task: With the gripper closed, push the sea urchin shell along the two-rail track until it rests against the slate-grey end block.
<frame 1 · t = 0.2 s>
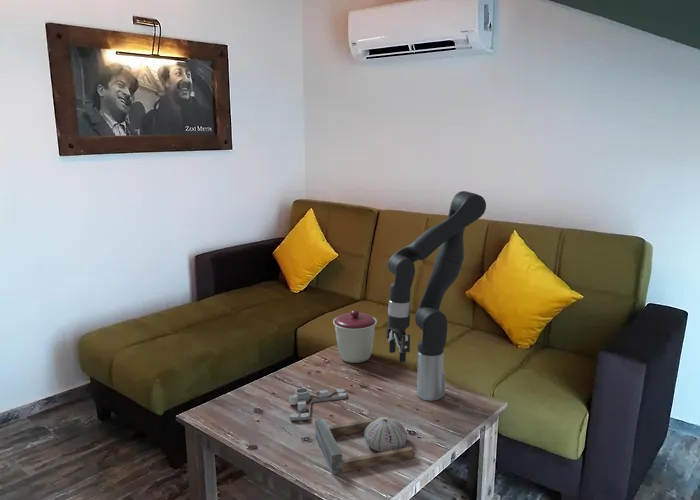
hand: (397, 356, 198), 17 cm above the table, tool pointing down, fingers open, 8 cm apart
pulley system: (311, 404, 203), on the table
sea urchin shell: (385, 444, 177), on the table
canister: (355, 358, 239), on the table
track: (367, 446, 176), on the table
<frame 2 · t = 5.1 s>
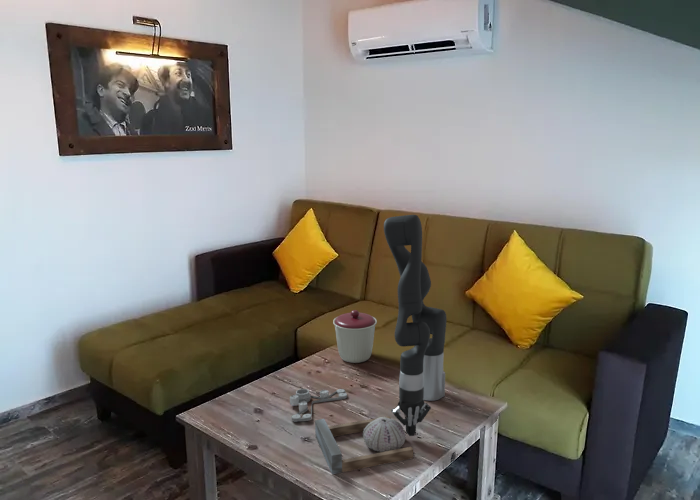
hand: (410, 434, 179), 2 cm above the table, tool pointing down, fingers closed
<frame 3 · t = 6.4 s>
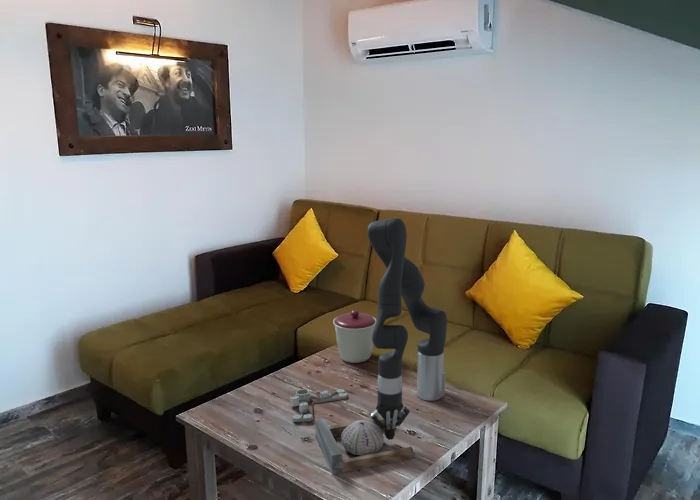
hand: (389, 438, 177), 2 cm above the table, tool pointing down, fingers closed
sea urchin shell: (362, 447, 176), on the table, touching gripper
everything else where it was.
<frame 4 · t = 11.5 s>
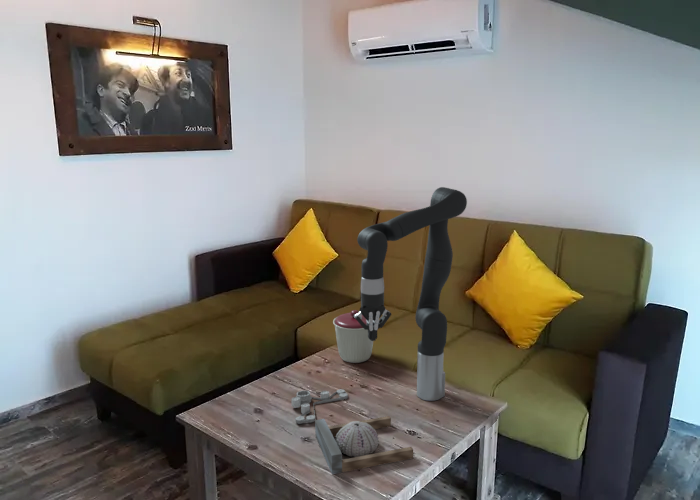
hand: (372, 340, 188), 27 cm above the table, tool pointing down, fingers closed
sea urchin shell: (357, 448, 175), on the table
at the end: sea urchin shell inside the target area (1.0 cm from its centre), on the table; sea urchin shell moved 9.1 cm from its start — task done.
